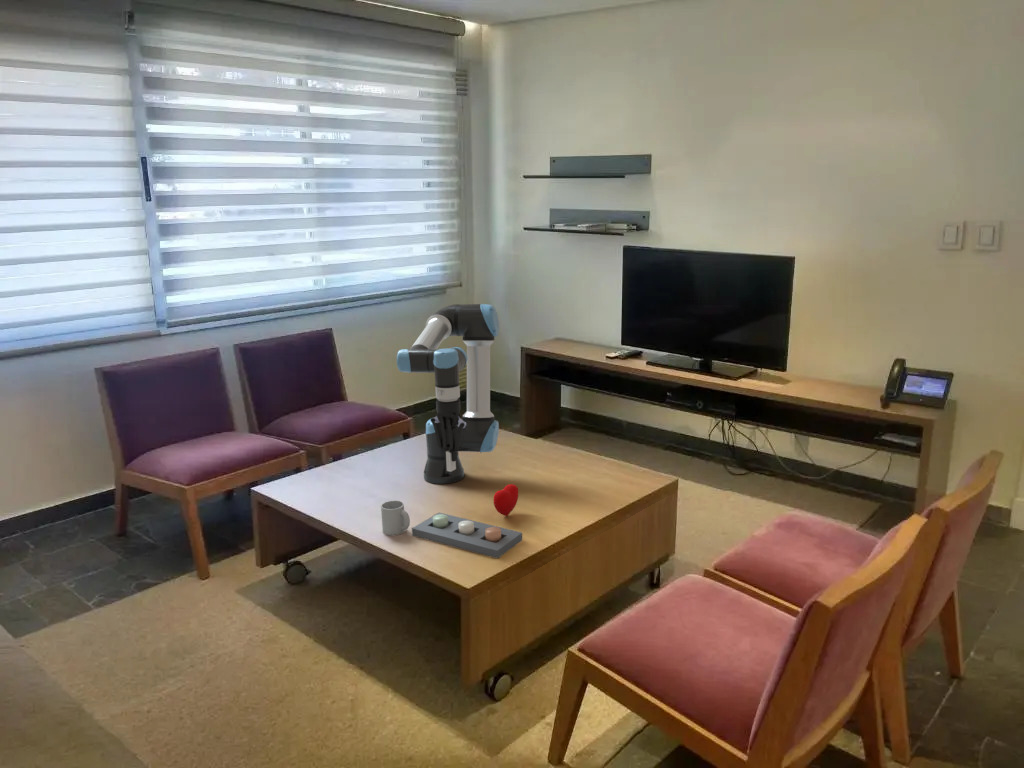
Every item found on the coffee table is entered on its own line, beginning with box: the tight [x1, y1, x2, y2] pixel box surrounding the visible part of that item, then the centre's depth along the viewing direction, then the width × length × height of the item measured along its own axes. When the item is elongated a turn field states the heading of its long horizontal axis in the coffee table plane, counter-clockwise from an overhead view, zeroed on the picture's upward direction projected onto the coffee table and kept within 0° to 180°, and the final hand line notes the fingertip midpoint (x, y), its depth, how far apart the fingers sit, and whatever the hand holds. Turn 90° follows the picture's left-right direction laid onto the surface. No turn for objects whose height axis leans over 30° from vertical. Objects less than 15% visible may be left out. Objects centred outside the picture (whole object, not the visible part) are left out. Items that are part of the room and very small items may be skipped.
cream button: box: [458, 519, 474, 536], centre depth 246 cm, size 5×5×3 cm
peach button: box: [485, 526, 501, 543], centre depth 241 cm, size 5×5×3 cm
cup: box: [380, 500, 411, 536], centre depth 252 cm, size 7×10×9 cm
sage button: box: [432, 513, 448, 529], centre depth 252 cm, size 5×5×3 cm
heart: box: [492, 483, 519, 517], centre depth 261 cm, size 12×5×10 cm, turn 148°
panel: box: [411, 512, 523, 559], centre depth 247 cm, size 32×14×2 cm, turn 58°
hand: (451, 469), depth 254 cm, fingers closed
